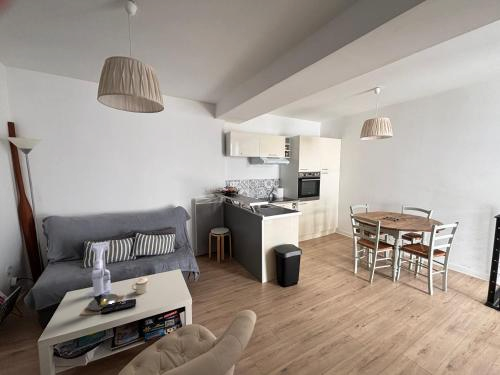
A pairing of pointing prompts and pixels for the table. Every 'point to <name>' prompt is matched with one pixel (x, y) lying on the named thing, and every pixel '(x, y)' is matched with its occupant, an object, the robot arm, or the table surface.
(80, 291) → the table surface
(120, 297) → the base plate
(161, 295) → the table surface
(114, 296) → the handwheel
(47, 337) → the table surface
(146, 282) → the teacup with lid
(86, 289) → the table surface
